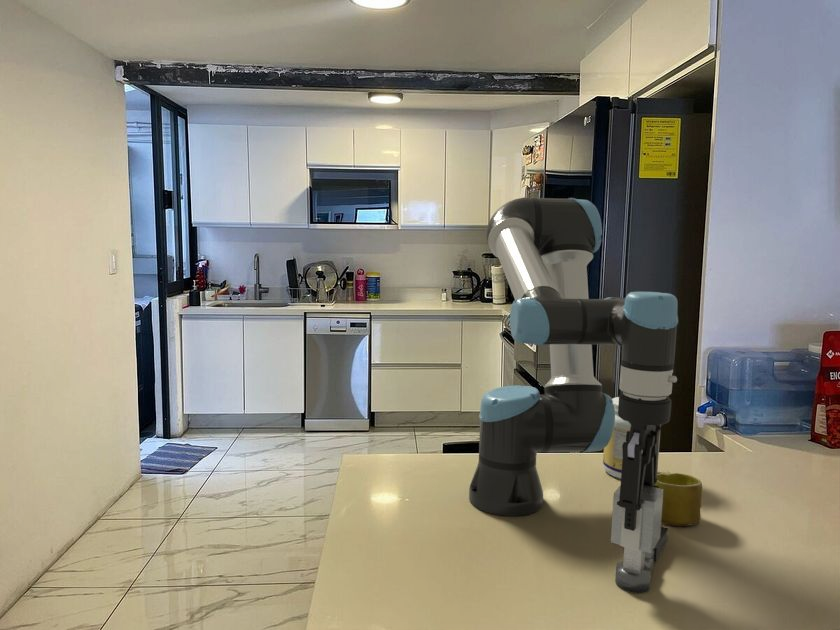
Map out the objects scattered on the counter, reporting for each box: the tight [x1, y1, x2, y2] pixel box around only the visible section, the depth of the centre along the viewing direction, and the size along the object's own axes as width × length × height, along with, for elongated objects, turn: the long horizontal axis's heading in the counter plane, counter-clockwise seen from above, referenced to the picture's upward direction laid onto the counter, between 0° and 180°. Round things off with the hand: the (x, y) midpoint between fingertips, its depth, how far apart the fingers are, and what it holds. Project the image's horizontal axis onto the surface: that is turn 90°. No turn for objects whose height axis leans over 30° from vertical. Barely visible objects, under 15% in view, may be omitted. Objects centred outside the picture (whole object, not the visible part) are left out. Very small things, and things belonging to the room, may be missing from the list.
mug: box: [654, 470, 703, 527], centre depth 123 cm, size 12×10×10 cm
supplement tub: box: [602, 396, 662, 480], centre depth 145 cm, size 12×12×17 cm
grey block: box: [610, 484, 663, 553], centre depth 97 cm, size 6×6×8 cm
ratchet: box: [614, 526, 669, 594], centre depth 105 cm, size 21×5×6 cm, turn 147°
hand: (635, 538), depth 98 cm, fingers closed on grey block, 6 cm apart
